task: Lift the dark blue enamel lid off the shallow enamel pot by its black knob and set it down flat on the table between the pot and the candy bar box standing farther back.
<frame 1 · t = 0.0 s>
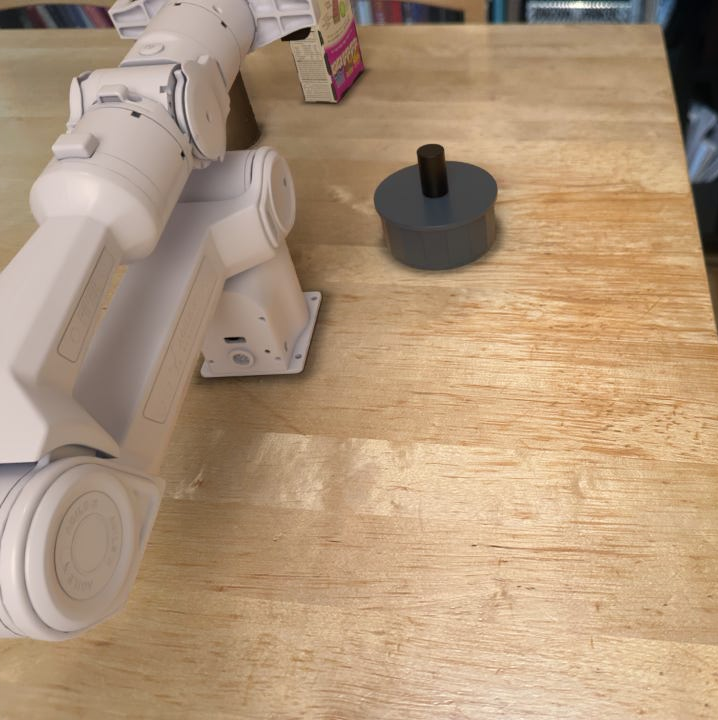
candy bar box: (335, 87, 89), on the table
pot: (441, 236, 62), on the table
pillar candle: (220, 141, 80), on the table
lid: (436, 196, 59), point 4 cm above the table, touching pot
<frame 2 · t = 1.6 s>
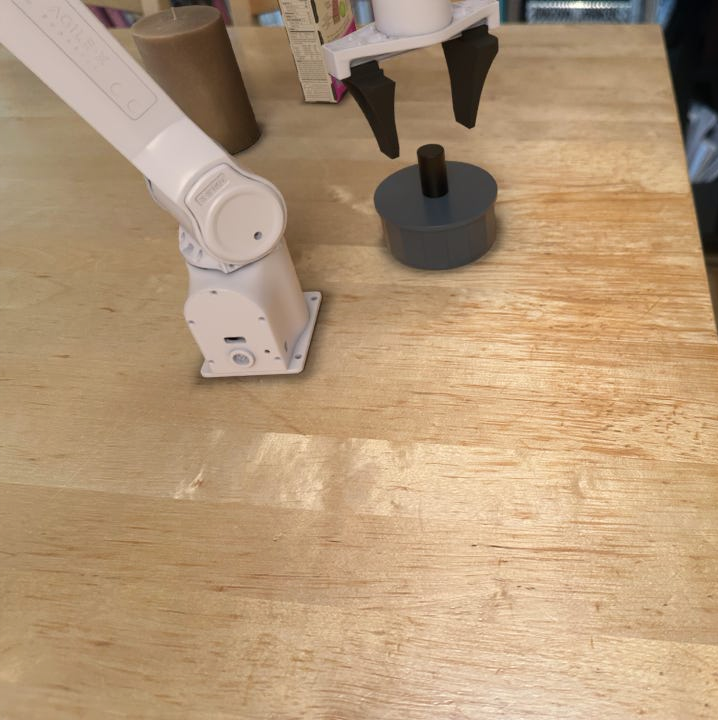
hand: (428, 138, 55), 10 cm above the table, tool pointing down, fingers open, 7 cm apart
nothing on the table moved.
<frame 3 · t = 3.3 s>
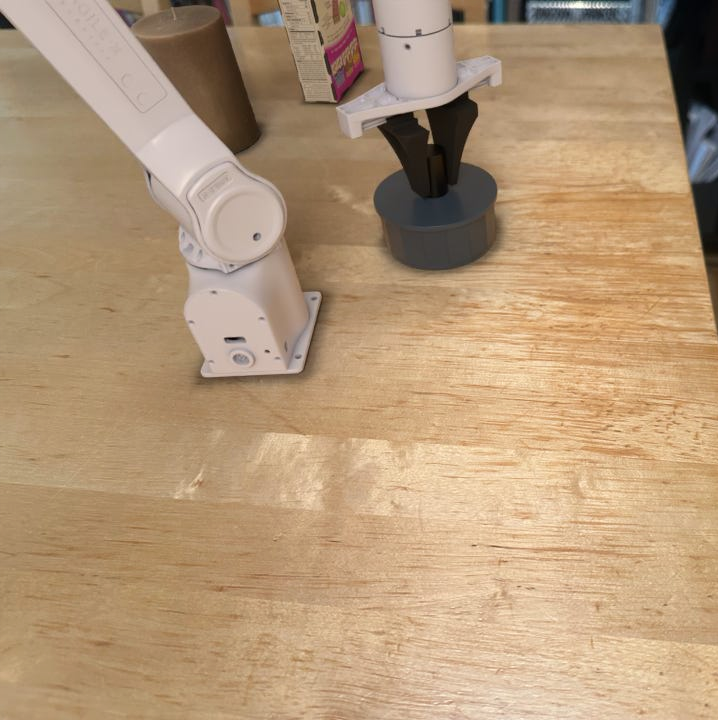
hand: (434, 186, 58), 5 cm above the table, tool pointing down, fingers closed on lid, 2 cm apart
lid: (435, 196, 59), point 4 cm above the table, touching gripper, pot
everything else where it was.
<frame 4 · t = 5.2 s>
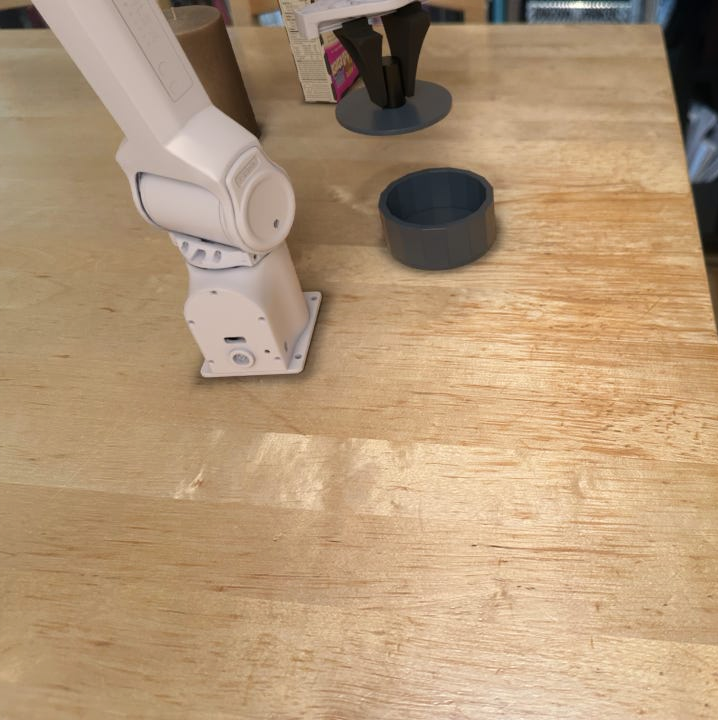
hand: (392, 98, 62), 10 cm above the table, tool pointing down, fingers closed on lid, 2 cm apart
lid: (394, 108, 62), point 9 cm above the table, touching gripper
everything else where it was.
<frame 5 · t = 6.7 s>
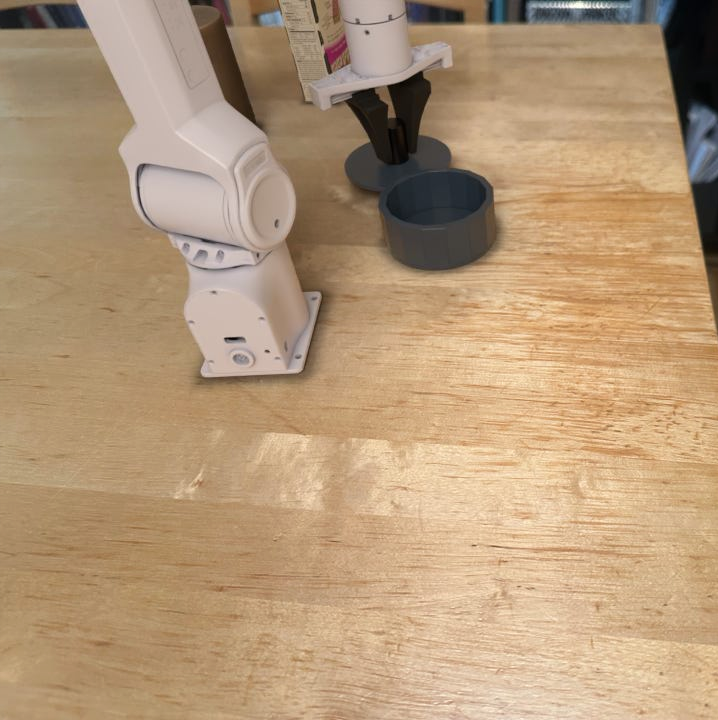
hand: (397, 154, 68), 3 cm above the table, tool pointing down, fingers closed on lid, 2 cm apart
lid: (398, 163, 68), point 2 cm above the table, touching gripper
everything else where it was.
when the fingers open (2 cm above the table, at t = 7.4 s): lid stays where it is, point 1 cm above the table.
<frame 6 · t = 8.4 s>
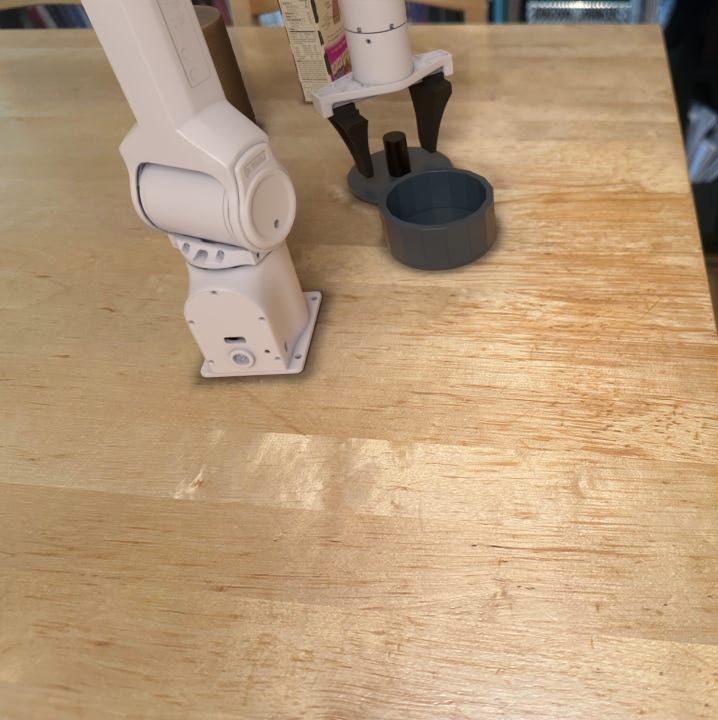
hand: (398, 161, 68), 2 cm above the table, tool pointing down, fingers open, 7 cm apart
lid: (400, 176, 69), point 1 cm above the table
everything else where it was.
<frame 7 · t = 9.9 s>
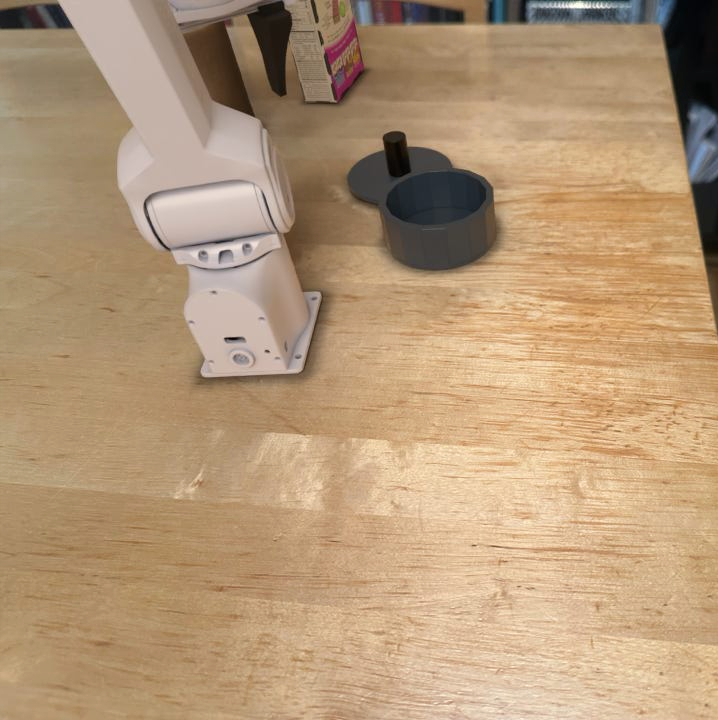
hand: (241, 105, 61), 10 cm above the table, tool pointing down, fingers open, 7 cm apart
nothing on the table moved.
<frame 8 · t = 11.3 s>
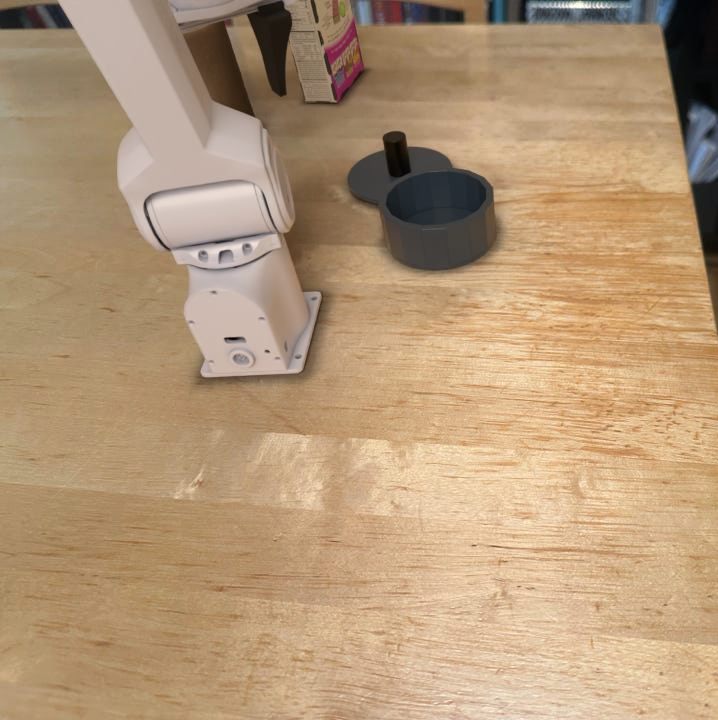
hand: (241, 105, 61), 10 cm above the table, tool pointing down, fingers open, 7 cm apart
nothing on the table moved.
at the end: lid inside the target area on the table beside the pot (1.2 cm from its centre), point 0.6 cm above the table; lid 28.5 cm from the candy bar box (horizontally); lid tilted 0° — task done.
